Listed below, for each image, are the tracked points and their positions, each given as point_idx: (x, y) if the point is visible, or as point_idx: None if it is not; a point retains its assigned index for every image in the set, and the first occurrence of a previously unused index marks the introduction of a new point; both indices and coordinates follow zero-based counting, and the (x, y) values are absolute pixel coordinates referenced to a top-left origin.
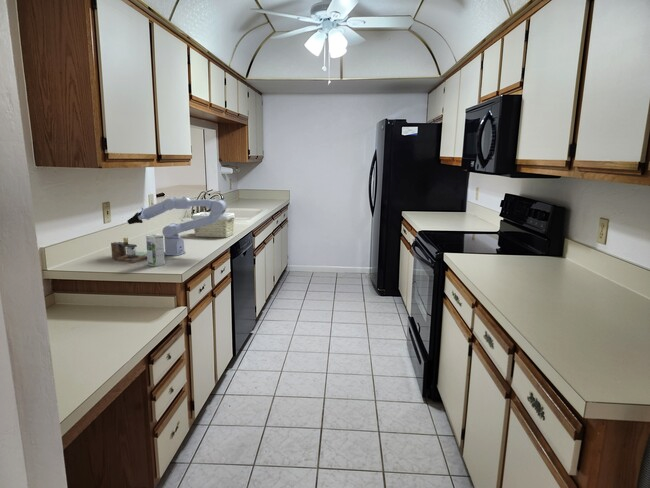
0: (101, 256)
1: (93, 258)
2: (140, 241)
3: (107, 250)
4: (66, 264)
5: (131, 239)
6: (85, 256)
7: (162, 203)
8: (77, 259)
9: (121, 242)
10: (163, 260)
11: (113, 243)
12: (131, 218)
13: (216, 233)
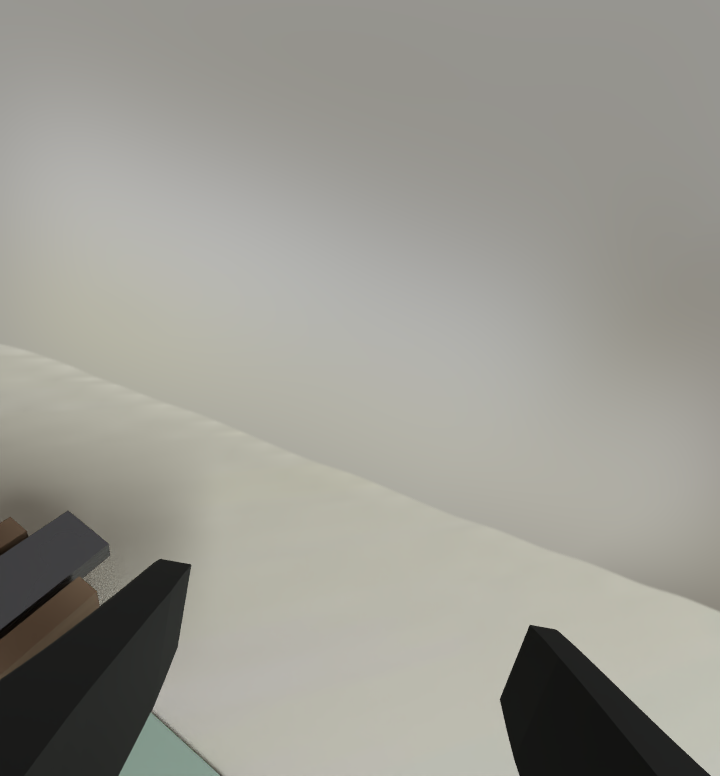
0: (176, 504)
1: (124, 465)
2: (709, 703)
3: (374, 515)
4: (8, 361)
5: (714, 610)
6: (212, 425)
7: None
8: (137, 397)
9: (36, 628)
10: None
11: (25, 539)
12: (15, 685)
13: None
